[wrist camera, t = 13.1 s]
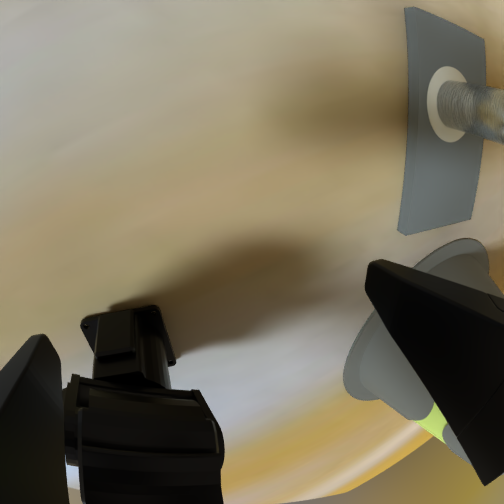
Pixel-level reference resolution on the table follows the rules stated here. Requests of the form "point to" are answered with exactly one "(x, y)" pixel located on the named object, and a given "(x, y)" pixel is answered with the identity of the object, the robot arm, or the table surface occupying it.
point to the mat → (438, 125)
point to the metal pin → (472, 109)
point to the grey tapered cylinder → (392, 359)
